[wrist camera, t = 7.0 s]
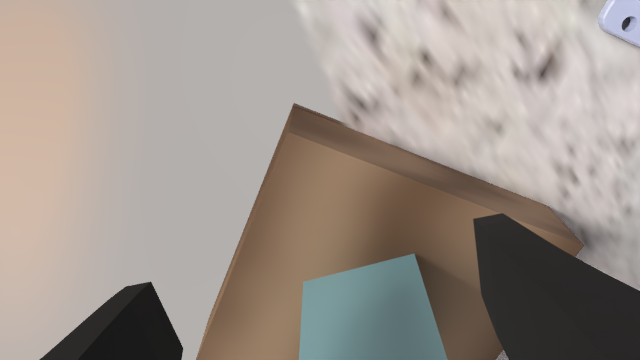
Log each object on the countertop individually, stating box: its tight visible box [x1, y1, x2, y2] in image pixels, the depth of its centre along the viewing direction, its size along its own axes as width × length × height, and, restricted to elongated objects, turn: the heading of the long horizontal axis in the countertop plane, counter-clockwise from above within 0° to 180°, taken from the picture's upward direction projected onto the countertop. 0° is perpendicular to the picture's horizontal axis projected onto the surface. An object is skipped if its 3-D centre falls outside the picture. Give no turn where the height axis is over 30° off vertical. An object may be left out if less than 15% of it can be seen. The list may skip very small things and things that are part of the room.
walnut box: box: [196, 103, 584, 360], centre depth 21 cm, size 12×12×4 cm
